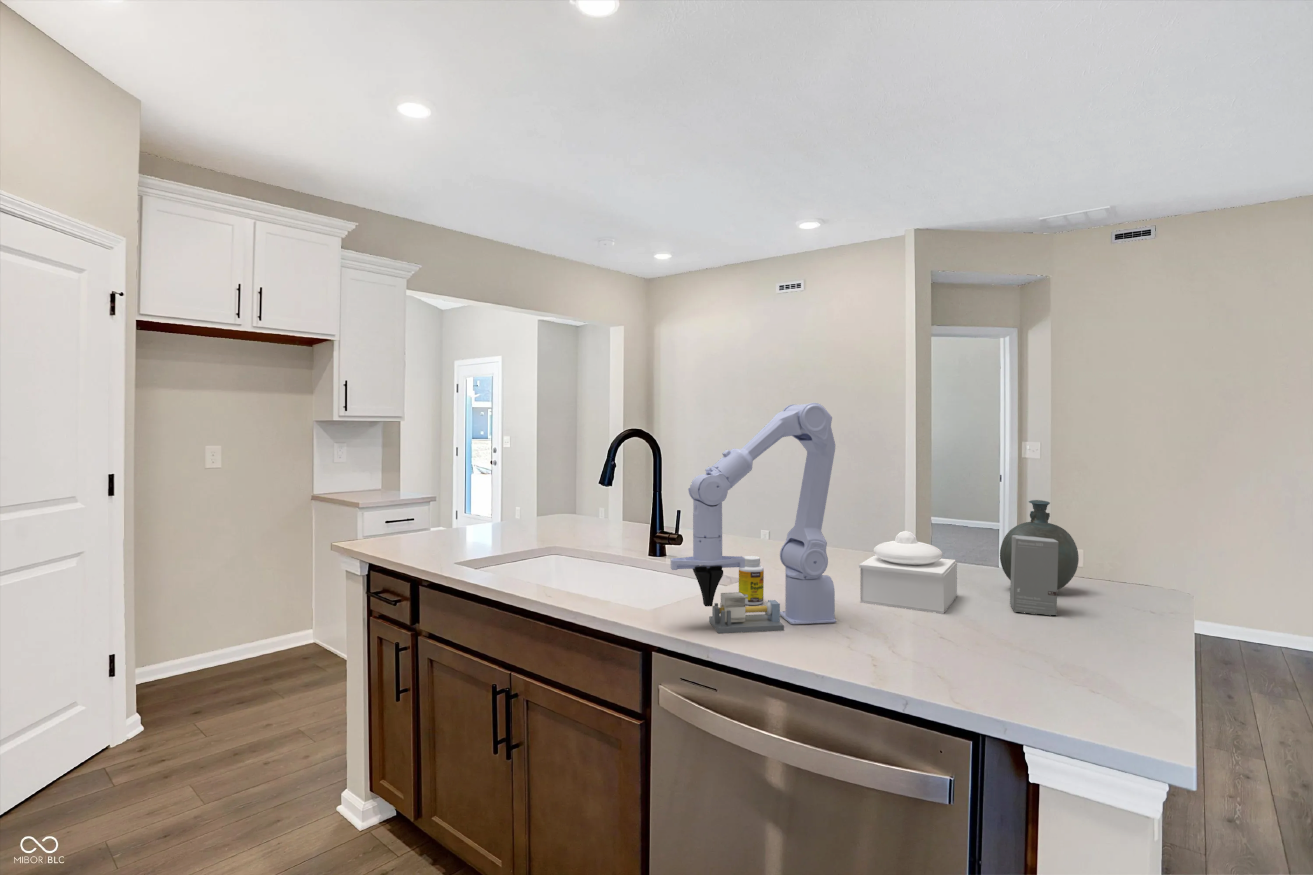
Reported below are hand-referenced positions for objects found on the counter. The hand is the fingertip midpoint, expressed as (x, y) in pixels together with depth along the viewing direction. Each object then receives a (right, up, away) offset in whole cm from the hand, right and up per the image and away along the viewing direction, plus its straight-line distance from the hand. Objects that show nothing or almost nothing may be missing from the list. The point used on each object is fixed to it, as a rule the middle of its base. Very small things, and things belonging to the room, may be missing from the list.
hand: (707, 605), depth 128 cm
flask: (+81, -4, +28) cm, 86 cm away
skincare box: (+71, -5, +12) cm, 72 cm away
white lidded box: (+48, -5, +21) cm, 53 cm away
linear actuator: (+8, -4, +1) cm, 9 cm away
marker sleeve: (+5, -3, +1) cm, 6 cm away
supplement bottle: (+11, -5, +19) cm, 22 cm away
